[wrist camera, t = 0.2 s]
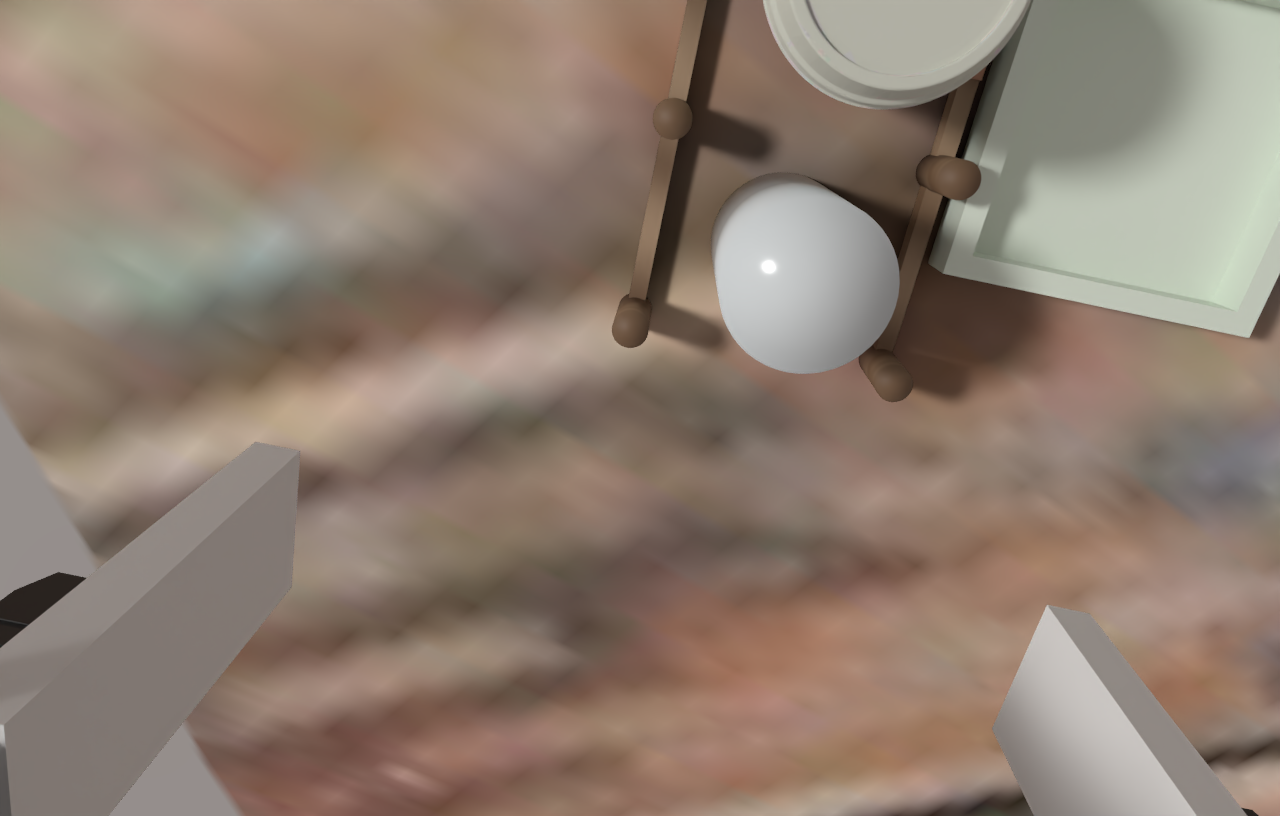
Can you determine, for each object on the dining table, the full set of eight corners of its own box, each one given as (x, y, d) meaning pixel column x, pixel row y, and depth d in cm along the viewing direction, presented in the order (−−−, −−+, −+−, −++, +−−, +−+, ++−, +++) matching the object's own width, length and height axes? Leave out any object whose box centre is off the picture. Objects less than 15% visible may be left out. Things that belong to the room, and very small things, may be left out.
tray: (1034, -71, 34) (1060, -83, 32) (1362, 1, 35) (1411, -6, 32) (927, 263, 39) (942, 273, 37) (1215, 323, 40) (1249, 338, 37)
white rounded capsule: (728, 159, 38) (742, 179, 29) (865, 188, 38) (923, 217, 29) (697, 294, 40) (701, 354, 31) (826, 322, 41) (869, 389, 31)
